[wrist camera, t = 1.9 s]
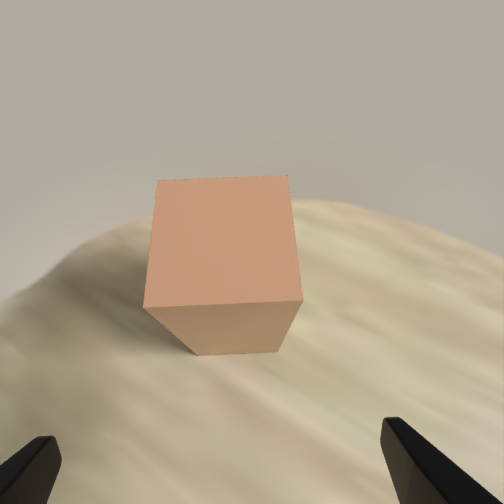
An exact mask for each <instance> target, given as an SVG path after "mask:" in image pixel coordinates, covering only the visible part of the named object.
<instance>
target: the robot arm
mask: <svg viewBox="0 0 504 504" xmlns="http://www.w3.org/2000/svg"><path fill="white" fill-rule="evenodd" d="M380 443H381V448H382V451H383V454H384V457H385V460H386V463H387V466H388V469H389V472H390V475H391V478H392V481H393V484H394V487H395V490H396V493H397V496H398V499H399V502H400V504H503V503H502V502H500V501H499V500H498V499H497V498H496V497H494V496H493V495H492V494H491V493H490V492H488V491H487V490H486V489H485V488H484V487H482V486H481V485H480V484H479V483H478V482H476V481H475V480H474V479H473V478H472V477H471V476H469V475H468V474H467V473H466V472H465V471H463V470H462V469H461V468H460V467H459V466H457V465H456V464H455V463H454V462H453V461H451V460H450V459H449V458H448V457H447V456H445V455H444V454H443V453H442V452H441V451H439V450H438V449H437V448H436V447H435V446H434V445H432V444H431V443H430V442H429V441H428V440H426V439H425V438H424V437H423V436H422V435H420V434H419V433H418V432H417V431H416V430H414V429H413V428H412V427H411V426H410V425H408V424H407V423H406V422H405V421H404V420H402V419H401V418H399V417H386V418H384V419H383V423H382V430H381V437H380ZM61 462H62V457H61V453H60V450H59V447H58V444H57V441H56V438H55V437H54V436H39V437H36V438H35V439H33V440H32V441H31V442H29V443H28V444H27V445H26V446H24V447H23V448H22V449H20V450H19V451H18V452H17V453H15V454H14V455H13V456H12V457H10V458H9V459H8V460H6V461H5V462H4V463H3V464H1V465H0V504H47V501H48V498H49V496H50V493H51V491H52V488H53V485H54V483H55V480H56V477H57V475H58V472H59V470H60V467H61Z"/></svg>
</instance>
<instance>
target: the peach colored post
mask: <svg viewBox="0 0 504 504" xmlns="http://www.w3.org/2000/svg"><path fill="white" fill-rule="evenodd" d="M302 302H303V294H302V286H301V278H300V270H299V262H298V255H297V247H296V239H295V231H294V223H293V215H292V207H291V199H290V191H289V184H288V176H262V177H234V178H209V179H208V178H207V179H180V180H158V181H157V189H156V197H155V206H154V215H153V224H152V232H151V241H150V250H149V259H148V267H147V276H146V285H145V293H144V302H143V308H144V309H145V310H146V311H147V312H148V313H149V314H151V315H152V316H153V317H154V318H155V319H156V320H157V321H159V322H160V323H161V324H162V325H163V326H164V327H165V328H167V329H168V330H169V331H170V332H171V333H172V334H174V335H175V336H176V337H177V338H178V339H179V340H180V341H182V342H183V343H184V344H185V345H186V346H187V347H188V348H190V349H191V350H192V351H193V352H194V353H195V354H196V355H198V356H204V355H224V354H245V353H265V352H278V350H279V348H280V346H281V344H282V342H283V340H284V338H285V336H286V334H287V332H288V330H289V328H290V326H291V324H292V322H293V320H294V318H295V316H296V314H297V312H298V310H299V308H300V306H301V304H302Z"/></svg>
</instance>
